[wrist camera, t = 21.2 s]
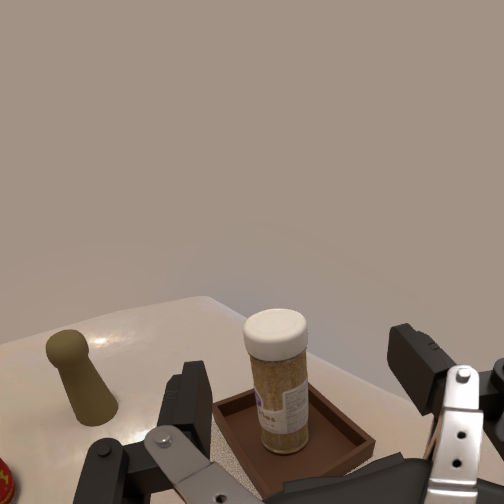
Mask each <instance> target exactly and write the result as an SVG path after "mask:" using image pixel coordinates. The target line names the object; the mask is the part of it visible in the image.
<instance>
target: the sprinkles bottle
mask: <svg viewBox="0 0 504 504" xmlns="http://www.w3.org/2000/svg"><path fill="white" fill-rule="evenodd" d="M243 334H244V341H245V347H246V350H247V351H248V354H249V355H250V361H251V367H252V374H253V379H254V390H255V397H256V403H257V410H258V417H259V422H260V426H261V431H262V435H261V440H262V443H263V445H264V447H265V448H266V449H267V450H269V451H271V452H273V453H275V454H283V455H284V454H291V453H294V452H297V451H299V450H300V449H302V448H303V447H304V446H305V445H306V444H307V442H308V439H309V432H308V423H307V422H308V373H307V366H306V348H307V347H306V346H307V343H308V333H307V322H306V320H305V318H304V316H303V315H301V314H300V313H298V312H296V311H293V310H289V309H270V310H265V311H262V312H259V313H256V314H254V315H253V316H251V317H250V318H248V319H247V321H246V322H245V324H244V326H243Z"/></svg>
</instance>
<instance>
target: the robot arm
mask: <svg viewBox="0 0 504 504" xmlns="http://www.w3.org/2000/svg"><path fill="white" fill-rule="evenodd" d="M387 361H388V365H389V367H390V369H391V371H392V372H393V374H394V375H395V376H396V378H397V379H398V381H399V382H400V384H401V385H402V387H403V388H404V390H405V391H406V393H407V394H408V396H409V397H410V398H411V400H412V401H413V403H414V404H415V406H416V407H417V409H418V410H419V412H420V413H421V415H422V416H425V415H427V414H430V413H433V415H434V417H433V420H432V424H431V429H430V433H429V437H428V441H427V445H426V449H425V453H424V456H423V459H420V458H406V459H404V458H403V456H402V454H401V452H399V453H396V454H393V455H390V456H387V457H384V458H381V459H378V460H375V461H373V462H371V463H369V464H367V465H366V466H364V467H362V468H360V469H358V470H356V471H354V472H352V473H350V474H348V475H345V476H325V477H309V478H304V479H299V480H293V481H287V482H282V484H283V490H281V491H278V492H276V493H274V494H272V495H270V496H268V497H267V498H265V499H263V500H262V501H261V500H260V499H258V498H257V497H256V496H255V495H254V494H252V493H251V492H250V491H249V490H248V489H246V488H245V487H244V486H243V485H242V484H241V483H239V482H238V481H237V480H236V479H235V478H234V477H233V476H231V475H230V474H229V473H228V472H227V471H226V470H225V469H224V468H223V467H222V466H220V465H219V464H218V463H217V462H215V461H214V462H210V442H211V421H212V403H213V399H212V391H211V387H210V383H209V380H208V376H207V373H206V369H205V365H204V362H203V361H202V360H201V361H191V362H184V366H183V371H182V374H178V375H173V376H172V378H171V379H170V380H169V381H168V382H167V385H166V389H165V394H164V397H163V401H162V406H161V410H160V414H159V418H158V422H157V427H156V428H154V429H152V430H151V431H149V432H148V433H147V435H146V436H145V439H144V440H143V441H141V442H137V443H133V444H128V445H124V446H122V445H121V443H120V442H119V441H117V440H116V439H113V438H103V439H100V440H97V441H96V442H94V443H93V444H92V445H91V446H90V448H89V450H88V452H87V456H86V459H85V462H84V465H83V469H82V472H81V475H80V479H79V482H78V486H77V489H76V493H75V497H74V500H73V504H150V498H151V494H152V493H156V492H161V491H165V490H169V489H173V490H174V491H175V492H176V493H177V494H178V496H179V497H180V498H181V499H182V500H183V502H184V503H185V504H504V486H502V485H498V484H495V483H492V482H489V481H486V480H482V479H479V478H477V475H478V468H479V461H480V452H481V442H482V429H483V430H484V432H485V433H486V435H487V436H488V438H489V439H490V441H491V442H492V444H493V445H494V447H495V448H496V450H497V451H498V453H499V455H500V456H501V458H502V459H503V461H504V358H501V359H499V360H497V361H496V362H495V364H494V367H493V370H491V371H485V372H477V371H476V369H474V368H473V367H471V366H468V365H457V364H456V363H455V362H454V361H453V360H452V359H451V358H450V357H449V356H448V355H447V354H446V353H445V352H444V351H443V350H442V349H440V347H439V346H438V345H437V344H436V343H435V341H433V339H432V338H430V336H429V335H427V334H424V333H422V332H420V331H417V332H416V331H415V330H414V329H413V328H412V327H411V326H410V325H409V324H408V323H405V324H401V325H398V326H394V327H391V329H390V333H389V345H388V352H387Z"/></svg>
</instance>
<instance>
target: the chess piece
mask: <svg viewBox="0 0 504 504" xmlns="http://www.w3.org/2000/svg"><path fill="white" fill-rule="evenodd" d="M88 353H89V348H88V344H87V341H86V339H85V337H84V336H83V335H82V334H81V333H80V332H78V331H77V330H63V331H60V332H58V333H56V334H54V335H53V336H51V337H50V339H49V340H48V341H47V343H46V354H47V357H48V359H49V361H50V362H51V363H52V364H53V366H54V367H56V368H58V371H59V374H60V376H61V379H62V382H63V385H64V388H65V390H66V393H67V396H68V398H69V401H70V403H71V406H72V408H73V411H74V413H75V415H76V418H77V420H78V421H79V422H80V423H81V424H84V425H86V426H97V425H101V424H104V423H106V422H108V421H109V420H110V419H112V418H113V416H114V415H115V414H116V412H117V410H118V403H117V401H116V399H115V398H114V397H113V395H112V394H111V392H110V391H109V389H108V388H107V386H106V385H105V383H104V381H103V380H102V378H101V377H100V375H99V374H98V372H97V370H96V369H95V367H94V365H93V364H92V362H91V361H90V359H89V357H88Z"/></svg>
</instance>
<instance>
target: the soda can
mask: <svg viewBox="0 0 504 504" xmlns="http://www.w3.org/2000/svg"><path fill="white" fill-rule="evenodd" d="M16 490H17V489H16V484H15V481H14V480H13V478H12V474H11V471H10V470H9V468H8V466H7V465H6V464H5V463H4V461H3V460H2V459H1V458H0V504H11V503H12V502H13V500H14V498H15V496H16Z"/></svg>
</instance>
